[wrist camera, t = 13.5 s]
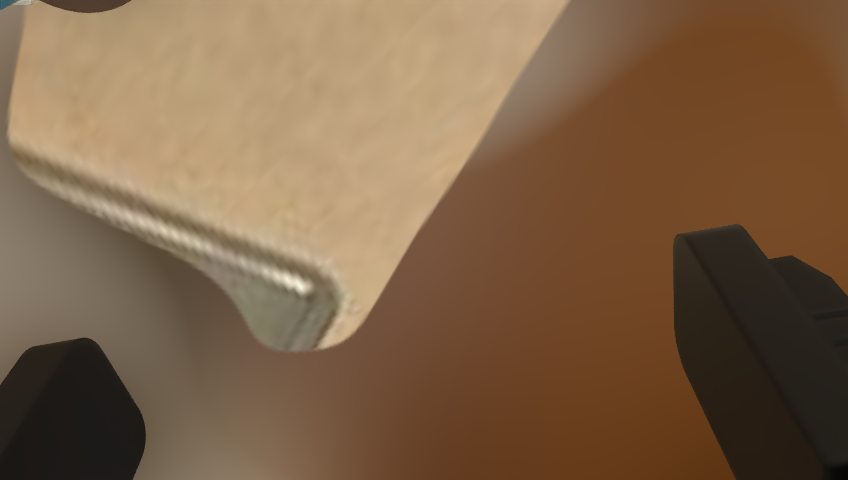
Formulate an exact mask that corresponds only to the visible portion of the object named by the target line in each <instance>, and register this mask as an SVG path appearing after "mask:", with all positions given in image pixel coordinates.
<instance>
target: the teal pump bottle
mask: <svg viewBox="0 0 848 480" xmlns="http://www.w3.org/2000/svg"><path fill="white" fill-rule="evenodd" d="M37 1H39V0H0V10H2V9H4V8H6V7H7V6H10V5H31V4H33V3H35V2H37Z"/></svg>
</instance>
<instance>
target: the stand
mask: <svg viewBox="0 0 848 480" xmlns="http://www.w3.org/2000/svg"><path fill="white" fill-rule="evenodd" d="M40 1H42V2H45V3H47V4H49V5H52V6H54V7H58V8H61V9H64V10H68V11H74V12H82V13H95V12H103V11H108V10H112V9H115V8H117V7H120V6H122V5H124V4H126V3H127V2H129V1H131V0H40Z"/></svg>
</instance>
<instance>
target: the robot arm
mask: <svg viewBox="0 0 848 480" xmlns="http://www.w3.org/2000/svg"><path fill="white" fill-rule="evenodd" d="M673 273H674V274H673V275H674V329H675V337H676V343H677V348H678V352H679V355H680V359H681V362H682V365H683V368H684V371H685V373H686V375H687V377H688V379H689V381H690V383H691V386H692V388H693V390H694V392H695V394H696V396H697V398H698V400H699V403H700V404H701V407H702V409H703V411H704V413H705V415H706V417H707V419H708V421H709V424H710V426H711V428H712V430H713V432H714V434H715V436H716V439H717V441H718V443H719V445H720V447H721V449H722V451H723V453H724V455H725V457H726V460H727V462H728V464H729V466H730V468H731V470H732V472H733V474H734V477H735V479H736V480H848V296H847V295H846V294H845V293H844V292H843V291H842V289H841V288H840V287H839V286H838V285H837V284H836V283H835V281H834V280H833V279H832V278H831V277H829V276H828V275H826V274H824V273H822V272H820V271H819V270H817V269H815V268H813V267H811V266H810V265H808V264H806V263H804V262H802V261H801V260H799V259H797V258H795V257H793V256H785V257H779V258H773V259H767V257H766V256H765V255H764V253H763V252H762V251H761V250H760V248H759V247H758V246H757V244H756V243H755V242H754V240H753V239H752V238H751V236H750V235H749V234H748V233H747V231H746V230H745V229H744V228H743V227H742V226H741V225H739V224H734V225H728V226H722V227H716V228H711V229H705V230H699V231H694V232H688V233H682V234H678V235H676V237H675V239H674V245H673ZM145 437H146V433H145V424H144V420H143V417H142V414H141V412H140V410H139V408H138V407H137V405H136V403H135V402H134V400H133V399H132V397H131V395H130V394H129V392H128V391H127V389H126V387H125V386H124V384H123V383H122V381H121V379H120V378H119V376H118V375H117V373H116V371H115V370H114V368H113V367H112V365H111V363H110V362H109V360H108V359H107V357H106V355H105V354H104V352H103V351H102V349H101V348H100V346H99V345H98V344H97V343H96V342H95V341H93V340H92V339H89V338H80V339H74V340H68V341H62V342H56V343H51V344H45V345H40V346H34V347H31V348H29V349H28V350H26V351H25V352H24V353H23V354H22V355H21V357H20V358H19V360H18V361H17V363H16V364H15V365H14V367H13V368H12V369H11V371H10V372H9V374H8V375H7V377H6V378H5V379H4V381H3V382H2V383H1V385H0V480H133V477H134V475H135V473H136V470H137V468H138V465H139V463H140V461H141V458H142V456H143V453H144V448H145V440H146V438H145Z"/></svg>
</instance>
